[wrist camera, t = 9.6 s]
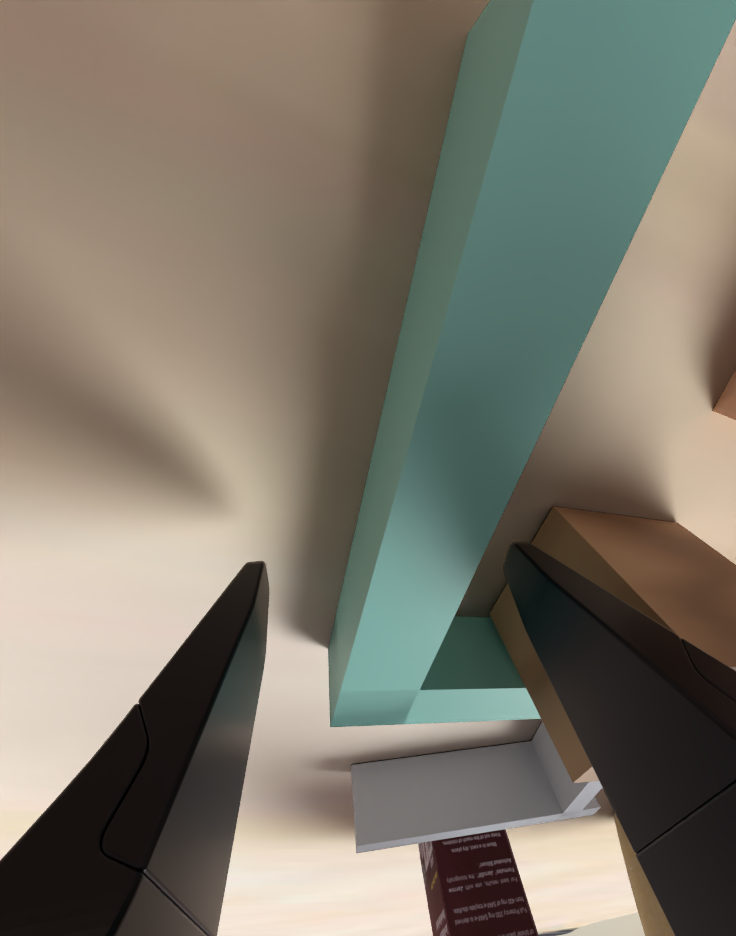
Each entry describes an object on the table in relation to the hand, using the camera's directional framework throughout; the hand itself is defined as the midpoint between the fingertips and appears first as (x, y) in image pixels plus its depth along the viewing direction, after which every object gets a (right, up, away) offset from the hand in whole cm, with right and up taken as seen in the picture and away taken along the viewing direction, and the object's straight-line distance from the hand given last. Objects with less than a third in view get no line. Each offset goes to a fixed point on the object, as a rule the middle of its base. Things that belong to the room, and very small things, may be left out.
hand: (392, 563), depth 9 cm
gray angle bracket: (+5, -9, +8) cm, 13 cm away
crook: (+4, +2, +2) cm, 5 cm away
